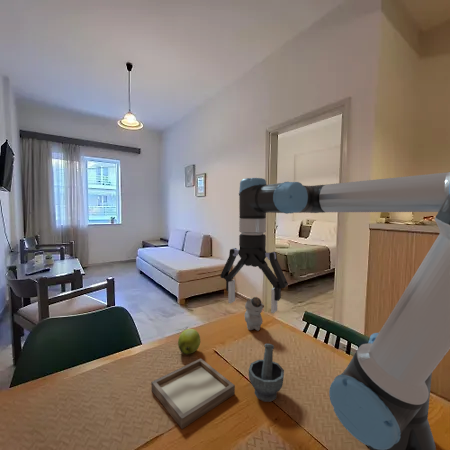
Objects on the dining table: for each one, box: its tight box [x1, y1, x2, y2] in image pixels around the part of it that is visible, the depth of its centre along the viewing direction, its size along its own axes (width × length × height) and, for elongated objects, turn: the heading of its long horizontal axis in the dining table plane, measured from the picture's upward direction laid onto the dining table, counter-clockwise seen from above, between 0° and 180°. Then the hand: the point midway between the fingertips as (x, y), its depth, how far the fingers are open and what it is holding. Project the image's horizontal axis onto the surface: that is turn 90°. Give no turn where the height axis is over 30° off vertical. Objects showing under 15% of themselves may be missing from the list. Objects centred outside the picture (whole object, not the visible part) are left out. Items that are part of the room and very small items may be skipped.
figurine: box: [244, 296, 265, 332], centre depth 106 cm, size 9×10×15 cm
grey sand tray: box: [150, 358, 236, 430], centre depth 71 cm, size 16×17×3 cm
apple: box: [177, 328, 201, 355], centre depth 90 cm, size 8×9×8 cm
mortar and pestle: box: [248, 343, 285, 403], centre depth 71 cm, size 11×9×12 cm
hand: (251, 306), depth 73 cm, fingers open, 13 cm apart
